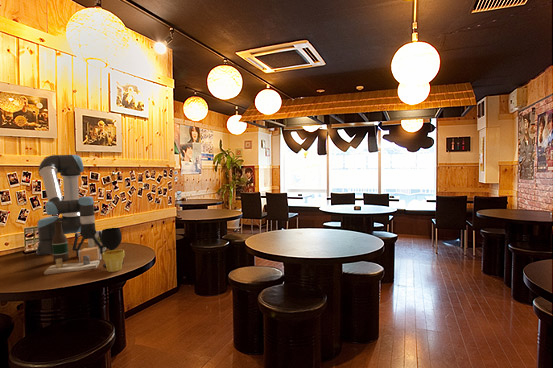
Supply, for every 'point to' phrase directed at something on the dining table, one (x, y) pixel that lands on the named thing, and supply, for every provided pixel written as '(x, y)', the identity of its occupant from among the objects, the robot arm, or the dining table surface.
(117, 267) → the plant pot
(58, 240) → the beer bottle
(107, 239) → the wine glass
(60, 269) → the post board
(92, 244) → the pitcher
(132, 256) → the dining table surface
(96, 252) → the tan block
